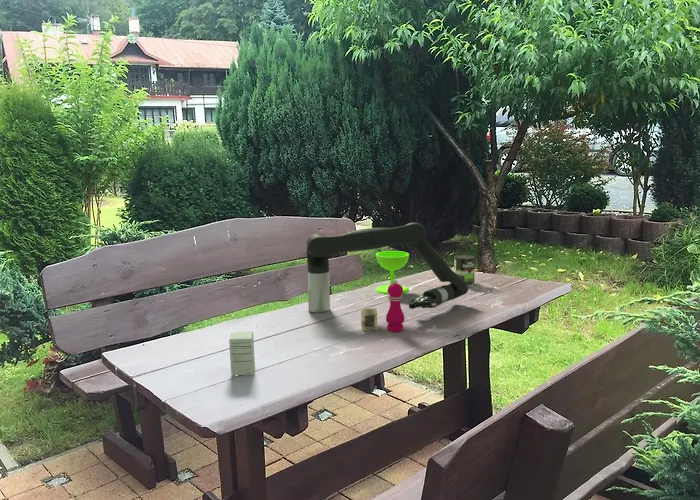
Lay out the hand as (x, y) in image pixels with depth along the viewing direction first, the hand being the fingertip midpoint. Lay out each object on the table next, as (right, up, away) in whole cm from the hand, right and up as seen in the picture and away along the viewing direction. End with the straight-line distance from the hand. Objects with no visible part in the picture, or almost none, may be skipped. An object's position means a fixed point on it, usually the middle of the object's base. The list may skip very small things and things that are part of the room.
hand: (410, 306), depth 247 cm
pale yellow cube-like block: (-17, -8, -3) cm, 19 cm away
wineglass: (-4, +3, +52) cm, 52 cm away
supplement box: (-59, -17, -46) cm, 77 cm away
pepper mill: (-7, -9, -6) cm, 12 cm away
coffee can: (+33, +5, +62) cm, 71 cm away
